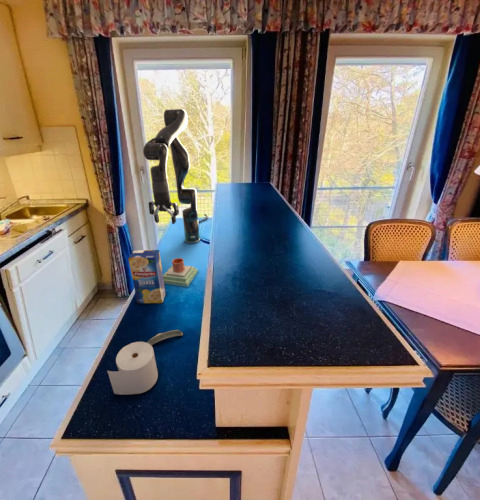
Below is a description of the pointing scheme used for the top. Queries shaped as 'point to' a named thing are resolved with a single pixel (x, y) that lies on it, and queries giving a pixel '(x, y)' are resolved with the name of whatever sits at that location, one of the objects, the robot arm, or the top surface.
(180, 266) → the terracotta cup
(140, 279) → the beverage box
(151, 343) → the ceramic fragment
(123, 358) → the toilet tissue
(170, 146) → the robot arm
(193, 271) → the light green stepped block
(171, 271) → the beige square slab
